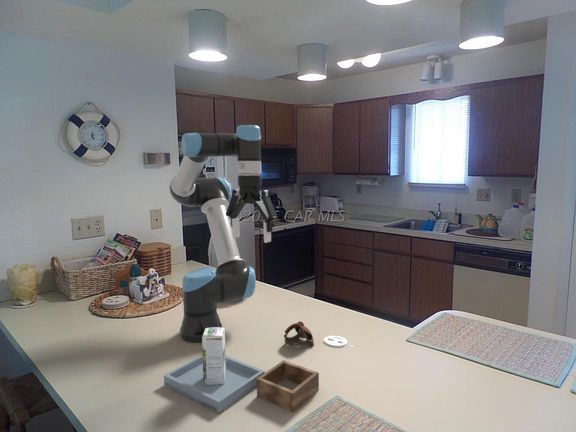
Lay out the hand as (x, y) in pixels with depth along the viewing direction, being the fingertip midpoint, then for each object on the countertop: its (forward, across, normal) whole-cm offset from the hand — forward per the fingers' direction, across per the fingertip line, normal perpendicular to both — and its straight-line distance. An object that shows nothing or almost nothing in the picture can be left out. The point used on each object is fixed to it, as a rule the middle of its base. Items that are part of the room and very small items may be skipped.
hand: (251, 239), depth 132 cm
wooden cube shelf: (+37, +26, -16) cm, 48 cm away
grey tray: (+37, +6, -24) cm, 44 cm away
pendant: (+37, +23, +18) cm, 47 cm away
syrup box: (+36, +6, -24) cm, 44 cm away
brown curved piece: (+37, +12, +10) cm, 40 cm away
